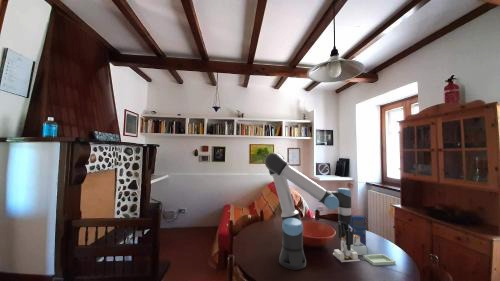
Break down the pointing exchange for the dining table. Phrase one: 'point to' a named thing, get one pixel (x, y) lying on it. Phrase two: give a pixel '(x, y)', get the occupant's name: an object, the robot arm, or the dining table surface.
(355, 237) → the cell
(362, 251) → the grey open box
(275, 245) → the dining table surface
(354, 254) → the cradle
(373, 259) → the trough
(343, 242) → the cell
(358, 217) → the electronic device
